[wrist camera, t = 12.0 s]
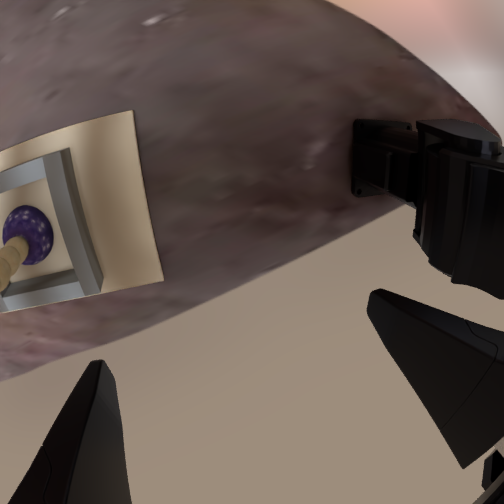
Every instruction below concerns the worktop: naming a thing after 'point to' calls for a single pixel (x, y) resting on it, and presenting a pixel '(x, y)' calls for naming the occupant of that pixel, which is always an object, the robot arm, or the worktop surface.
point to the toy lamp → (24, 241)
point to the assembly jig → (81, 212)
